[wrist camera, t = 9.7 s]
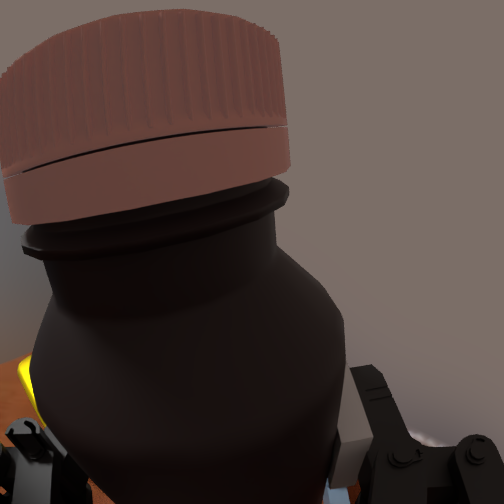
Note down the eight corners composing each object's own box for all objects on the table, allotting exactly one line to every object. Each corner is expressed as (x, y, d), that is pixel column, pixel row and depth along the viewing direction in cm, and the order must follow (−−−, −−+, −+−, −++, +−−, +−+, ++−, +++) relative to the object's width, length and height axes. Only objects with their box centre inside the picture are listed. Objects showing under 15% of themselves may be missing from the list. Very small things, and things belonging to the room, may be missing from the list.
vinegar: (179, 578, 9) (-122, 136, 2) (196, 487, 15) (79, 112, 8) (313, 584, 8) (423, -63, 1) (308, 487, 15) (310, 74, 7)
